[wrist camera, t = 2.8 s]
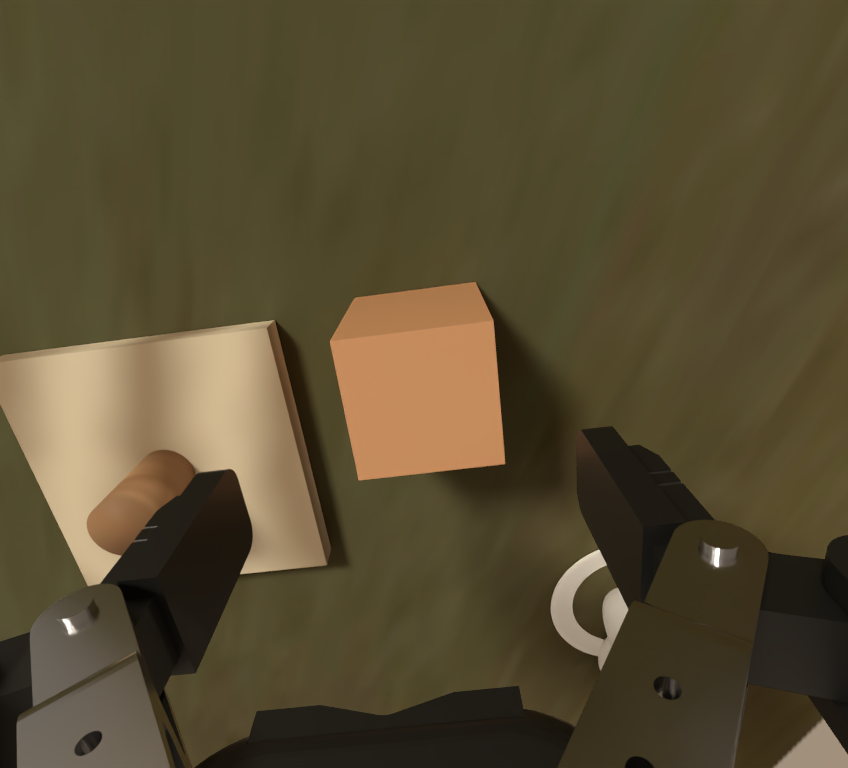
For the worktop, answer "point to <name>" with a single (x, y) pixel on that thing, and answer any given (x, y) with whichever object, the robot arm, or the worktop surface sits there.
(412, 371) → the salmon cube
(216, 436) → the post base
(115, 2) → the worktop surface
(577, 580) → the white ring and cup
